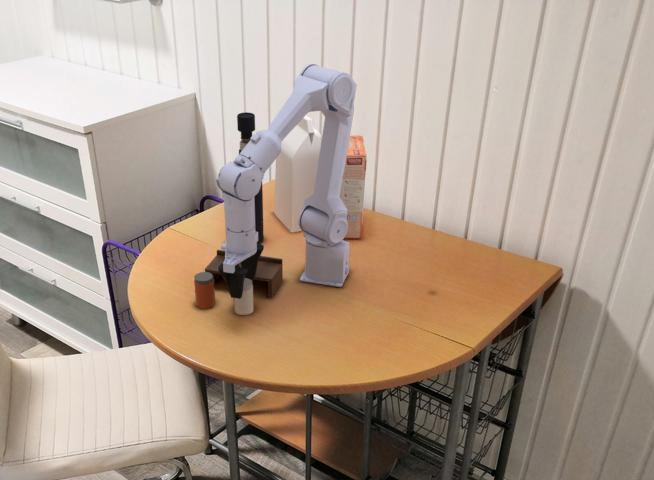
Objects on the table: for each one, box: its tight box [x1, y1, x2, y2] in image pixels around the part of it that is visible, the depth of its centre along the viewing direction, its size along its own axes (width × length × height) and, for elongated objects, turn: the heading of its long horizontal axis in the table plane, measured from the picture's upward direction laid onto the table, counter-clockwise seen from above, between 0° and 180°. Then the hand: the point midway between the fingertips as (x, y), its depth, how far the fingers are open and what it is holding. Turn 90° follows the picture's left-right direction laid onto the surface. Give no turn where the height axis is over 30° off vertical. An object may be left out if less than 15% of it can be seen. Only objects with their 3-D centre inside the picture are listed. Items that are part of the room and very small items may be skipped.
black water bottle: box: [236, 111, 265, 245], centre depth 169 cm, size 6×6×30 cm
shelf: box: [204, 249, 284, 299], centre depth 159 cm, size 15×8×6 cm, turn 73°
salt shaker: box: [233, 278, 255, 316], centre depth 150 cm, size 4×4×6 cm
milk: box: [273, 114, 322, 233], centre depth 180 cm, size 12×12×26 cm
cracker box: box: [340, 135, 368, 239], centre depth 178 cm, size 14×6×21 cm, turn 179°
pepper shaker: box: [193, 271, 216, 310], centre depth 152 cm, size 4×4×6 cm
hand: (242, 288), depth 149 cm, fingers open, 7 cm apart
